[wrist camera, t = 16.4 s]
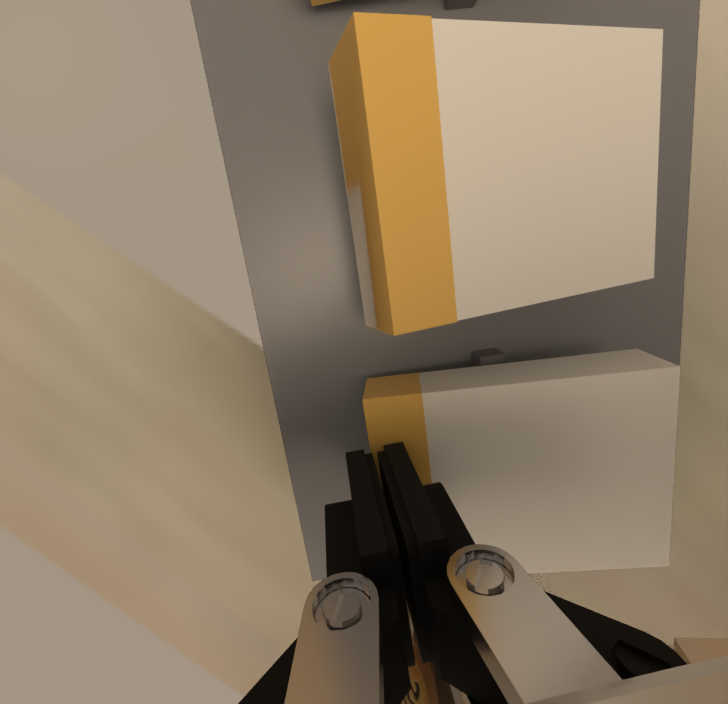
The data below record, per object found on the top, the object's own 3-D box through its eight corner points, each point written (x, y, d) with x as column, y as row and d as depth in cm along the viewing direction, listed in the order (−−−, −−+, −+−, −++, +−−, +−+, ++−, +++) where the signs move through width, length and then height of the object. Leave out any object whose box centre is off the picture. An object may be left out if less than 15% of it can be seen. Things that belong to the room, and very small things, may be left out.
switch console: (568, -150, 15) (760, -473, 8) (575, 442, 21) (689, 525, 14) (190, -116, 14) (72, -442, 8) (310, 489, 20) (303, 601, 14)
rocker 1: (597, 64, 11) (664, 27, 9) (597, 278, 13) (655, 278, 11) (328, 63, 9) (353, 12, 7) (365, 325, 10) (394, 335, 9)
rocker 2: (637, 347, 11) (681, 366, 10) (632, 524, 13) (669, 568, 11) (367, 377, 12) (362, 399, 11) (391, 539, 14) (390, 582, 12)
